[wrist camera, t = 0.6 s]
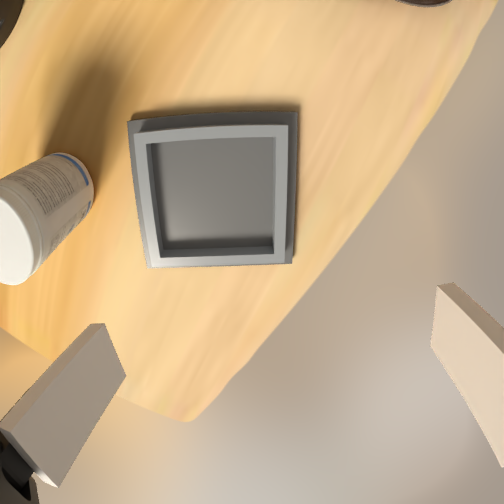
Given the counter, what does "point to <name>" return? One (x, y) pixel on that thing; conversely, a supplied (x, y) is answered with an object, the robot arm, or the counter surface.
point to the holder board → (215, 188)
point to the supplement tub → (40, 212)
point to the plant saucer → (425, 2)
